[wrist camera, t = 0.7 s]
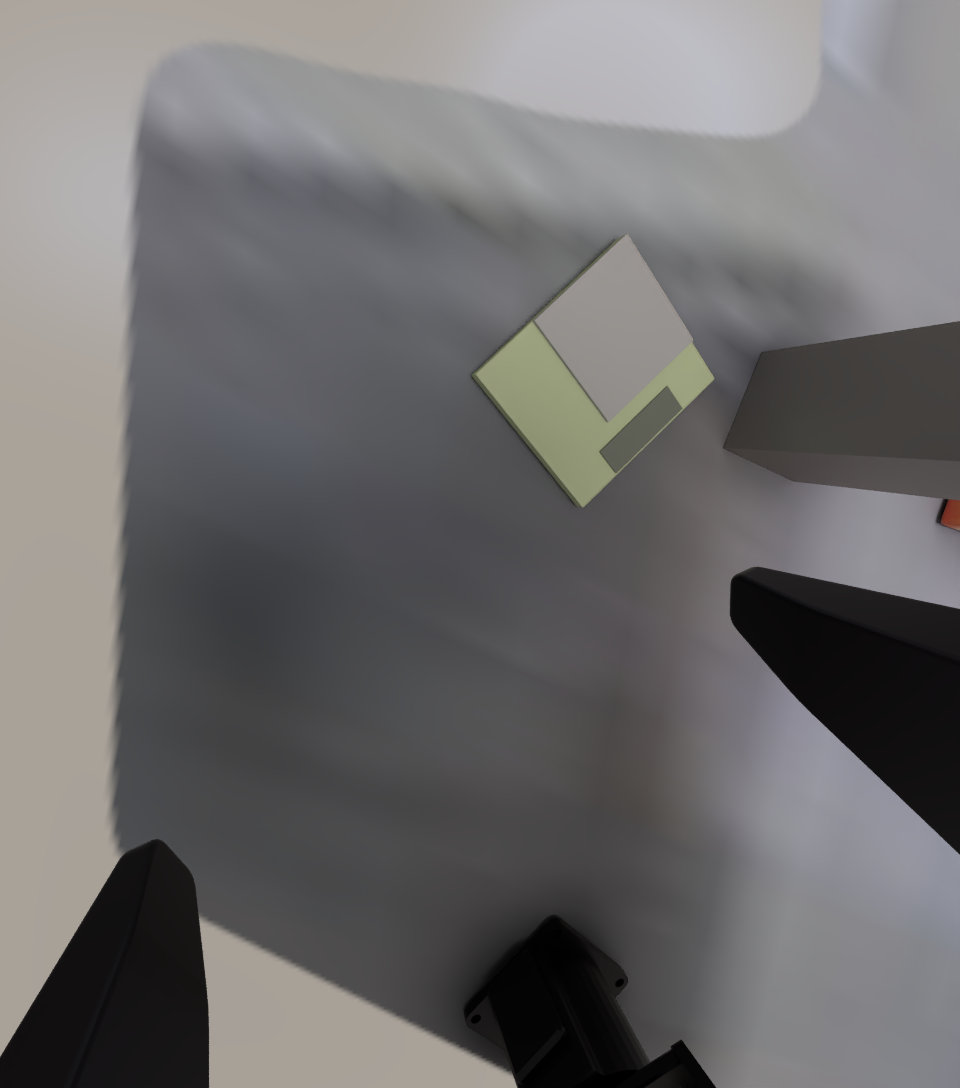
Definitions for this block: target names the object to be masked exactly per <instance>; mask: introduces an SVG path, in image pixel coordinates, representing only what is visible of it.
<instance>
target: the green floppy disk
mask: <svg viewBox="0 0 960 1088" xmlns="http://www.w3.org/2000/svg"><path fill="white" fill-rule="evenodd" d="M693 340H694V339H693V338H692V336H691V335H690V333H689V331H688V330H687V328H686V327H685V325H684V323H683V322H682V320H681V319H680V317H679V315H678V314H677V312H676V311H675V309H674V307H673V306H672V304H671V303H670V301H669V299H668V298H667V296H666V295H665V293H664V291H663V290H662V288H661V287H660V285H659V284H658V282H657V280H656V279H655V277H654V276H653V274H652V272H651V271H650V269H649V268H648V266H647V264H646V263H645V261H644V260H643V258H642V256H641V255H640V253H639V252H638V250H637V248H636V247H635V245H634V244H633V242H632V240H631V239H630V237H629V236H628V234H626V235H624V236H622V237H620V238H619V239H617V240H616V241H615V242H614V243H613V244H611V245H610V246H609V247H608V248H607V249H606V250H605V251H604V252H603V253H602V254H601V255H600V256H599V257H598V258H597V259H595V260H594V261H593V262H592V263H591V264H590V265H589V266H588V267H587V268H586V269H585V270H584V271H583V272H582V273H580V274H579V275H578V276H577V277H576V278H575V279H574V280H573V281H572V282H571V283H570V284H569V285H568V286H567V287H565V288H564V289H563V290H562V291H561V292H560V293H559V294H558V295H557V296H556V297H555V298H554V299H553V300H552V301H550V302H549V303H548V304H547V305H546V306H545V307H544V308H543V309H542V310H541V311H540V312H539V313H538V314H537V315H535V316H534V317H533V318H532V319H531V320H530V321H529V322H528V323H527V324H526V325H525V326H524V327H523V328H522V329H520V330H519V331H518V332H517V333H516V334H515V335H514V336H513V337H512V338H511V339H510V340H509V341H508V342H507V343H506V344H504V345H503V346H502V347H501V348H500V349H499V350H498V351H497V352H496V353H495V354H494V355H493V356H492V357H491V358H489V359H488V360H487V361H486V362H485V363H484V364H483V365H482V366H481V367H480V368H479V369H478V370H477V371H476V372H474V373H473V374H472V375H471V376H472V377H473V378H474V380H475V381H476V382H477V383H478V385H479V386H480V387H481V388H482V389H483V391H484V392H485V393H486V394H487V396H488V397H489V398H490V399H491V401H492V402H493V403H494V404H495V406H496V407H497V408H498V409H499V411H500V412H501V413H502V414H503V416H504V417H505V418H506V419H507V420H508V422H509V423H510V424H511V425H512V427H513V428H514V429H515V430H516V432H517V433H518V434H519V435H520V437H521V438H522V439H523V440H524V442H525V443H526V444H527V445H528V446H529V448H530V449H531V450H532V451H533V453H534V454H535V455H536V456H537V458H538V459H539V460H540V461H541V463H542V464H543V465H544V466H545V468H546V469H547V470H548V471H549V472H550V474H551V475H552V476H553V477H554V479H555V480H556V481H557V482H558V484H559V485H560V486H561V487H562V489H563V490H564V491H565V492H566V494H567V495H568V496H569V497H570V499H571V500H572V501H573V502H574V503H575V505H576V506H578V507H582V508H583V507H584V506H585V505H586V504H587V503H588V502H589V501H590V500H591V499H592V498H593V497H594V496H596V495H597V494H598V493H599V492H600V491H601V490H602V489H603V488H604V487H605V486H606V485H607V484H608V483H609V482H610V481H611V480H612V479H613V478H614V477H615V476H616V475H617V474H618V473H619V472H620V471H621V470H622V469H623V468H624V467H625V466H626V465H627V464H628V463H629V462H630V461H631V460H632V459H633V458H634V457H635V456H636V455H637V454H638V453H639V452H640V451H641V450H642V449H644V448H645V447H646V446H647V445H648V444H649V443H650V442H651V441H652V440H653V439H654V438H655V437H656V436H657V435H658V434H659V433H660V432H661V431H662V430H663V429H664V428H665V427H666V426H667V425H668V424H669V423H670V422H671V421H672V420H673V419H674V418H675V417H676V416H677V415H678V414H679V413H680V412H681V411H682V410H683V409H684V408H685V407H686V406H687V405H688V404H689V403H691V402H692V401H693V400H694V399H695V398H696V397H697V396H698V395H699V394H700V393H701V392H702V391H703V390H704V389H705V388H706V387H707V386H708V385H709V384H710V383H711V382H712V381H713V380H714V379H715V378H714V377H713V375H712V374H711V372H710V370H709V369H708V367H707V366H706V364H705V362H704V361H703V359H702V358H701V356H700V355H699V353H698V351H697V350H696V348H695V347H694V345H693V343H692V341H693Z"/></svg>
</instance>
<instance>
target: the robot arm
mask: <svg viewBox="0 0 960 1088" xmlns="http://www.w3.org/2000/svg"><path fill="white" fill-rule="evenodd" d="M730 617H731V620H732V623H733V625H734V626H735V628H736V629H737V630H738V632H739V633H740V634H741V635H742V636H743V637H744V639H745V640H746V641H747V642H748V643H749V644H750V645H751V647H752V648H753V649H754V650H755V651H756V652H757V654H758V655H759V656H760V657H761V658H762V659H763V661H764V662H765V663H766V664H767V665H768V666H769V667H770V669H771V670H772V671H773V672H774V673H775V674H776V676H777V677H778V678H779V679H780V680H781V681H782V683H783V684H784V685H785V686H786V687H787V688H788V689H789V691H790V692H791V693H792V694H793V695H794V696H795V697H796V698H797V699H798V700H799V701H800V702H801V703H802V704H803V705H804V706H805V707H806V708H807V709H808V710H809V711H810V712H811V713H812V714H813V715H814V716H815V717H816V718H817V719H818V720H819V721H820V722H821V723H822V724H823V725H824V726H825V727H827V728H828V729H829V730H830V731H831V732H832V733H833V734H834V735H835V736H836V737H837V738H838V739H839V740H840V741H841V742H842V743H843V744H844V745H845V746H846V747H847V748H849V749H850V750H851V751H852V752H853V753H854V754H855V755H856V756H857V757H858V758H859V759H860V760H861V761H862V762H863V763H864V764H865V765H866V766H867V767H868V768H870V769H871V770H872V771H873V772H874V773H875V774H876V775H877V776H878V777H879V778H880V779H881V780H882V781H883V782H884V783H885V784H886V785H887V786H888V787H889V788H890V789H892V790H893V791H894V792H895V793H896V794H897V795H898V796H899V797H900V798H901V799H902V800H903V801H904V802H905V803H906V804H907V805H908V806H909V807H910V808H911V809H913V810H914V811H915V812H916V813H917V814H918V815H919V816H920V817H921V818H922V819H923V820H924V821H925V822H926V823H927V824H928V825H929V826H930V827H931V828H932V829H933V830H935V831H936V832H937V833H938V834H939V835H940V836H941V837H942V838H943V839H944V840H945V841H946V842H947V843H948V844H949V845H950V846H951V847H952V848H953V849H954V850H956V851H957V852H958V853H959V854H960V609H957V608H952V607H948V606H943V605H938V604H933V603H929V602H924V601H919V600H914V599H910V598H905V597H900V596H895V595H891V594H886V593H881V592H876V591H872V590H867V589H862V588H857V587H853V586H848V585H843V584H838V583H834V582H829V581H824V580H819V579H815V578H810V577H805V576H800V575H796V574H791V573H786V572H781V571H777V570H772V569H767V568H762V567H752V568H749V569H747V570H745V571H743V572H741V573H738V574H736V575H735V576H734V577H733V578H732V580H731V587H730ZM556 929H557V930H556ZM627 983H628V977H627V976H626V974H625V972H624V971H623V969H622V968H621V967H619V966H618V965H617V964H616V963H614V962H613V961H612V960H611V959H609V958H608V957H607V956H606V955H604V954H603V953H602V952H601V951H599V950H598V949H597V948H596V947H595V946H593V945H592V944H591V943H590V942H588V941H587V940H586V939H585V938H583V937H582V936H581V935H580V934H578V933H577V932H576V931H575V930H573V929H572V928H571V927H570V926H568V925H567V924H566V923H565V922H564V921H562V920H561V919H559V918H554V919H551V920H550V921H549V922H547V923H546V924H545V926H544V927H543V928H542V929H541V930H540V931H539V932H538V933H537V934H536V935H535V936H534V937H533V938H532V939H531V940H530V941H529V942H528V943H527V944H526V945H525V947H524V948H523V949H522V950H521V951H520V952H519V953H518V954H517V955H516V956H515V957H514V958H513V959H512V960H511V961H510V962H509V963H508V964H507V965H506V966H505V968H504V969H503V970H502V971H501V972H500V973H499V974H498V975H497V976H496V977H495V978H494V979H493V980H492V981H491V982H490V983H489V984H488V985H487V986H486V987H485V989H484V990H483V991H482V992H481V993H480V994H479V995H478V996H477V997H476V998H475V999H474V1000H473V1001H472V1002H471V1003H470V1004H469V1005H468V1006H467V1008H466V1009H465V1011H464V1017H465V1021H466V1025H467V1026H468V1027H469V1028H471V1029H472V1030H474V1031H476V1032H477V1033H479V1034H480V1035H482V1036H483V1037H485V1038H486V1039H488V1040H490V1041H491V1042H493V1043H494V1044H496V1045H497V1046H499V1047H501V1048H502V1049H504V1050H505V1051H506V1054H507V1057H508V1060H509V1064H510V1067H511V1070H512V1073H513V1076H514V1079H515V1082H516V1085H517V1088H716V1087H715V1085H714V1084H713V1083H712V1081H711V1080H710V1079H709V1077H708V1076H707V1074H706V1073H705V1072H704V1070H703V1069H702V1067H701V1066H700V1065H699V1063H698V1062H697V1061H696V1059H695V1058H694V1056H693V1055H692V1054H691V1052H690V1051H689V1049H688V1048H687V1047H686V1045H685V1044H684V1042H683V1041H682V1040H680V1041H678V1042H676V1043H675V1044H673V1045H672V1046H671V1050H669V1051H668V1052H666V1053H664V1054H663V1055H661V1056H660V1057H658V1058H657V1059H655V1060H653V1061H652V1062H650V1061H649V1059H648V1057H647V1055H646V1054H645V1052H644V1050H643V1048H642V1046H641V1044H640V1043H639V1041H638V1039H637V1037H636V1035H635V1033H634V1032H633V1030H632V1028H631V1026H630V1024H629V1022H628V1021H627V1019H626V1017H625V1015H624V1013H623V1011H622V1010H621V1008H620V1006H619V1004H618V1002H617V1000H616V999H615V997H616V996H617V995H618V994H619V993H620V992H621V991H622V990H623V989H624V988H625V986H626V985H627ZM0 1088H209V1017H208V999H207V987H206V979H205V970H204V960H203V951H202V942H201V933H200V924H199V915H198V906H197V897H196V888H195V883H194V879H193V876H192V874H191V872H190V871H189V869H188V868H187V867H186V866H185V864H184V863H183V862H182V861H181V860H180V859H179V858H178V857H177V856H176V855H175V853H174V852H173V851H172V850H171V849H170V848H169V847H168V846H167V845H166V843H164V842H163V841H162V840H159V839H155V840H151V841H149V842H147V843H145V844H142V845H140V846H138V847H136V848H134V849H131V850H129V851H128V852H126V853H125V854H124V855H123V856H122V857H121V858H120V860H119V861H118V863H117V864H116V866H115V868H114V870H113V871H112V873H111V874H110V876H109V878H108V879H107V881H106V883H105V884H104V886H103V888H102V889H101V891H100V893H99V894H98V896H97V898H96V899H95V901H94V903H93V904H92V906H91V907H90V909H89V911H88V912H87V914H86V916H85V917H84V919H83V921H82V922H81V924H80V926H79V927H78V929H77V931H76V932H75V934H74V936H73V937H72V939H71V941H70V942H69V944H68V946H67V947H66V949H65V951H64V952H63V954H62V956H61V957H60V959H59V960H58V962H57V964H56V965H55V967H54V969H53V970H52V972H51V974H50V975H49V977H48V979H47V980H46V982H45V984H44V985H43V987H42V989H41V990H40V992H39V994H38V995H37V997H36V998H35V1000H34V1002H33V1003H32V1005H31V1007H30V1009H29V1010H28V1012H27V1014H26V1015H25V1017H24V1018H23V1020H22V1022H21V1024H20V1025H19V1027H18V1028H17V1030H16V1032H15V1033H14V1035H13V1037H12V1038H11V1040H10V1042H9V1043H8V1045H7V1046H6V1048H5V1050H4V1052H3V1053H2V1055H1V1056H0Z"/></svg>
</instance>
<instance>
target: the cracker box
mask: <svg viewBox="0 0 960 1088" xmlns="http://www.w3.org/2000/svg"><path fill="white" fill-rule="evenodd" d="M941 524H943V525H945V526H947V527H950V528H953V529H956V530H959V531H960V500H952V499H948V502H947V505H946V508H945V511H944V513H943V516H942V520H941Z"/></svg>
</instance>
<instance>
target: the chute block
mask: <svg viewBox="0 0 960 1088" xmlns="http://www.w3.org/2000/svg"><path fill="white" fill-rule="evenodd" d="M724 449H726V450H728V451H730V452H733V453H735V454H737V455H739V456H741V457H743V458H745V459H747V460H750V461H752V462H754V463H756V464H758V465H760V466H762V467H764V468H767V469H769V470H771V471H773V472H775V473H777V474H779V475H782V476H784V477H786V478H788V479H790V480H792V481H796V482H804V483H813V484H822V485H830V486H839V487H848V488H856V489H865V490H874V491H882V492H891V493H900V494H908V495H917V496H926V497H934V498H943V499H952V500H960V321H958V322H952V323H946V324H939V325H933V326H927V327H920V328H914V329H907V330H901V331H895V332H888V333H882V334H876V335H869V336H863V337H857V338H850V339H844V340H837V341H831V342H825V343H818V344H812V345H806V346H799V347H793V348H787V349H780V350H774V351H768V352H762V353H761V355H760V358H759V360H758V363H757V365H756V368H755V370H754V373H753V375H752V378H751V380H750V383H749V385H748V388H747V390H746V393H745V395H744V398H743V400H742V403H741V405H740V408H739V410H738V413H737V415H736V418H735V420H734V423H733V425H732V428H731V430H730V433H729V435H728V438H727V440H726V443H725V445H724Z"/></svg>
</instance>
